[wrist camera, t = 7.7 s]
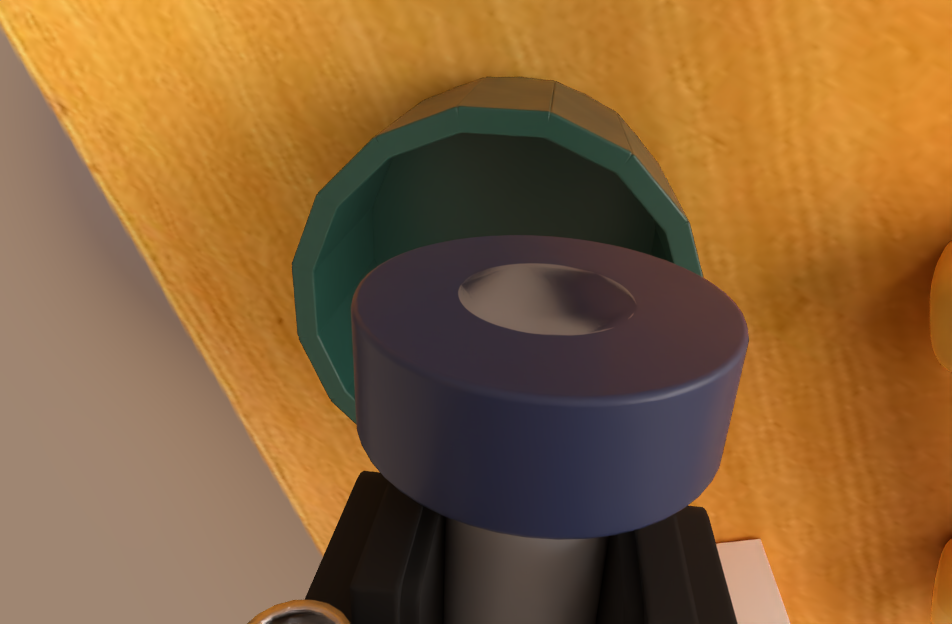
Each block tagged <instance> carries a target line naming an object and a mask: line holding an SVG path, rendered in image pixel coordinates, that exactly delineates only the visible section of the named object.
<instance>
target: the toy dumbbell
mask: <svg viewBox="0 0 952 624" xmlns="http://www.w3.org/2000/svg"><path fill="white" fill-rule="evenodd" d="M351 323H352V344H353V365H354V386H355V407H356V423H357V432H358V435H359V438H360V441H361V444H362V446H363V448H364V450H365V451H366V453H367V455H368V457H369V458H370V460H371V462H372V463H373V464H374V466H375V467H376V468H377V469H378V470H379V472H380V473H381V474H382V475H383V476H384V478H386V479H387V480H388V481H389V482H390V483H391V484H392V485H394V486H395V487H396V488H397V489H398V490H399V491H401V492H402V493H404V494H405V495H407V496H408V497H410V498H411V499H413V500H414V501H416V502H417V503H419V504H420V505H422V506H424V507H426V508H428V509H430V510H432V511H434V512H437V513H439V514H441V515H443V516H445V517H446V526H445V574H444V622H443V624H595V623H596V616H597V610H598V604H599V597H600V591H601V584H602V578H603V571H604V565H605V559H606V552H607V546H608V539H609V536H612V535H617V534H621V533H626V532H630V531H634V530H638V529H641V528H644V527H647V526H649V525H652V524H655V523H657V522H660V521H663V520H664V519H666V518H668V517H670V516H672V515H674V514H675V513H677V512H679V511H681V510H682V509H684V508H685V507H686V506H688V505H689V504H690V503H691V502H693V501H694V500H695V499H696V498H698V497H699V496H700V494H701V493H702V492H703V491H704V490H705V489H706V487H707V486H708V485H709V484H710V483H711V482H712V480H713V478H714V476H715V474H716V472H717V471H718V469H719V466H720V462H721V458H722V454H723V450H724V445H725V441H726V437H727V433H728V428H729V424H730V420H731V415H732V411H733V407H734V402H735V398H736V394H737V390H738V385H739V381H740V377H741V372H742V368H743V364H744V359H745V355H746V351H747V347H748V342H749V336H748V327H747V324H746V321H745V319H744V316H743V314H742V312H741V311H740V309H739V308H738V306H737V305H736V303H735V302H734V301H733V300H732V299H731V298H730V297H729V296H728V295H727V294H726V293H725V292H723V291H722V290H721V289H719V288H718V287H717V286H715V285H714V284H713V283H711V282H709V281H708V280H706V279H704V278H703V277H701V276H699V275H697V274H695V273H693V272H691V271H689V270H687V269H685V268H683V267H681V266H678V265H676V264H673V263H671V262H668V261H666V260H663V259H660V258H657V257H654V256H651V255H648V254H645V253H642V252H638V251H635V250H631V249H627V248H623V247H619V246H614V245H610V244H604V243H599V242H593V241H587V240H580V239H572V238H563V237H552V236H534V235H502V236H484V237H473V238H465V239H457V240H452V241H446V242H441V243H436V244H432V245H428V246H424V247H420V248H417V249H414V250H411V251H408V252H405V253H403V254H400V255H398V256H396V257H393V258H391V259H389V260H387V261H386V262H384V263H382V264H380V265H379V266H377V267H376V268H375V269H373V270H372V271H371V272H369V273H368V274H367V275H366V276H365V277H364V279H363V280H362V281H361V282H360V284H359V285H358V287H357V289H356V291H355V293H354V295H353V299H352V303H351Z"/></svg>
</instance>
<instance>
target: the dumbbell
mask: <svg viewBox="0 0 952 624" xmlns="http://www.w3.org/2000/svg"><path fill="white" fill-rule="evenodd" d="M930 335H931V343H932V348H933V351H934V353H935V355H936V357H937V359H938V361H939V362H940V364H941V365H942V366H943V367H944V368H946V369H947V370H948V371H949V372H951V373H952V241H951V242H949V243H948V245H947V246H946V247H945V249H944V250H943V252H942V254H941V256H940V258H939V260H938V262H937V265H936V267H935V271H934V274H933V278H932V284H931V291H930ZM931 624H952V538H951V539H950V540H949V541H948V542H947V544H946V545H945V547H944V549H943V551H942V554H941V557H940V560H939V564H938V568H937V572H936V577H935V582H934V588H933V595H932V606H931Z"/></svg>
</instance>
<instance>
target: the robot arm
mask: <svg viewBox="0 0 952 624" xmlns="http://www.w3.org/2000/svg"><path fill="white" fill-rule="evenodd" d="M445 526H446V517H445V516H443V515H441V514H439V513H437V512H434V511H432V510H430V509H428V508H426V507H424V506H422V505H420V504H419V503H417V502H416V501H414V500H413V499H411V498H410V497H408V496H407V495H405V494H404V493H402V492H401V491H399V490H398V489H397V488H396V487H395V486H394V485H392V484H391V483H390V482H389V481H388V480H387V479H386V478H384V476H383V475H382V474H381V473H378V472H369V471H363V472H361V473H360V475H359V477H358V478H357V480H356V483H355V485H354V487H353V490H352V492H351V494H350V496H349V499H348V501H347V503H346V506H345V508H344V510H343V513H342V515H341V517H340V519H339V522H338V524H337V526H336V529H335V531H334V533H333V536H332V538H331V540H330V542H329V545H328V547H327V549H326V552H325V554H324V556H323V559H322V561H321V564H320V566H319V568H318V570H317V572H316V575H315V577H314V580H313V582H312V584H311V586H310V588H309V591H308V593H307V595H306V598H305V600H292V601H289V602H285V603H281V604H277V605H274V606H273V607H271V608H269V609H267V610H265V611H263V612H261V613H259V614H258V615H257V616H255V617H254V618H253V619H252V620H251V621H250V622H249V623H247V624H443V622H444V574H445ZM595 624H738V623H737V619H736V616H735V612H734V608H733V605H732V601H731V597H730V594H729V590H728V586H727V583H726V579H725V575H724V572H723V568H722V564H721V561H720V557H719V553H718V550H717V546H716V542H715V539H714V535H713V531H712V528H711V524H710V520H709V517H708V514H707V512H706V510H705V509H704V508H703V507H695V506H686V507H685V508H684V509H682V510H681V511H679V512H677V513H675V514H674V515H672V516H670V517H668V518H666V519H664V520H663V521H660V522H657V523H655V524H652V525H649V526H647V527H644V528H641V529H638V530H634V531H630V532H626V533H621V534H617V535H612V536H609V539H608V546H607V552H606V559H605V565H604V571H603V578H602V584H601V591H600V597H599V604H598V610H597V616H596V623H595Z"/></svg>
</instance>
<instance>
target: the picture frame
mask: <svg viewBox="0 0 952 624" xmlns="http://www.w3.org/2000/svg"><path fill="white" fill-rule="evenodd" d="M716 546H717V550H718V553H719V557H720V561H721V564H722V568H723V572H724V575H725V579H726V583H727V586H728V590H729V594H730V597H731V601H732V605H733V608H734V612H735V616H736V619H737V623H738V624H790V621H789V618H788V615H787V612H786V610H785V607H784V604H783V601H782V598H781V596H780V593H779V590H778V587H777V584H776V581H775V579H774V576H773V573H772V570H771V567H770V565H769V562H768V559H767V556H766V553H765V550H764V548H763V545H762V542H761V539H754V540H746V541H737V542H727V543H718V544H716Z"/></svg>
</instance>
